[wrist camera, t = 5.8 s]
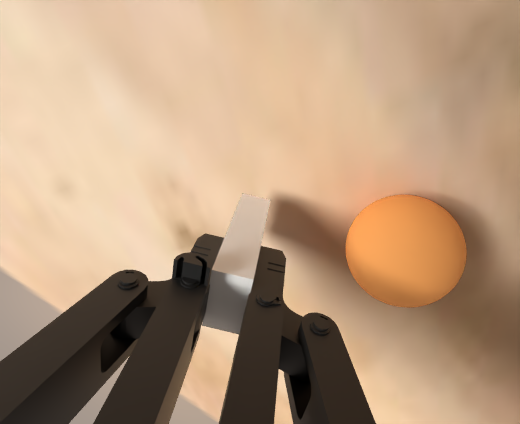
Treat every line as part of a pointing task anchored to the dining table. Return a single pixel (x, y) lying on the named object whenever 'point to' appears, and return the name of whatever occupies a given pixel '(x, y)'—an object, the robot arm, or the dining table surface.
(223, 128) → the dining table surface
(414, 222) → the ball
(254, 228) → the robot arm
